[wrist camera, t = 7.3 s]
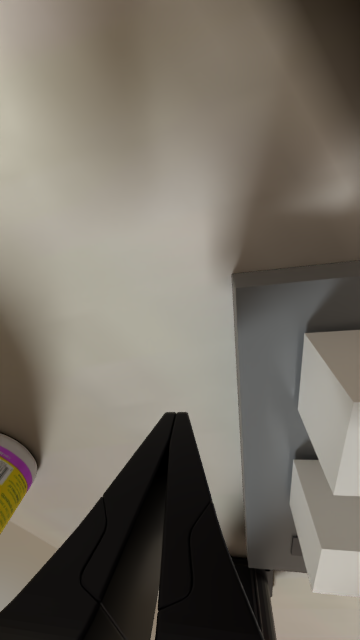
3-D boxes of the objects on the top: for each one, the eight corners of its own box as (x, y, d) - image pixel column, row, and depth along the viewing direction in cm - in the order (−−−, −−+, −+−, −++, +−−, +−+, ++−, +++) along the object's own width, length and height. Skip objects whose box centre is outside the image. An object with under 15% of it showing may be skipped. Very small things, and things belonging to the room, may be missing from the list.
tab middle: (345, 506, 14) (386, 600, 10) (289, 503, 14) (312, 592, 11) (357, 460, 12) (410, 555, 9) (293, 459, 12) (321, 548, 9)
